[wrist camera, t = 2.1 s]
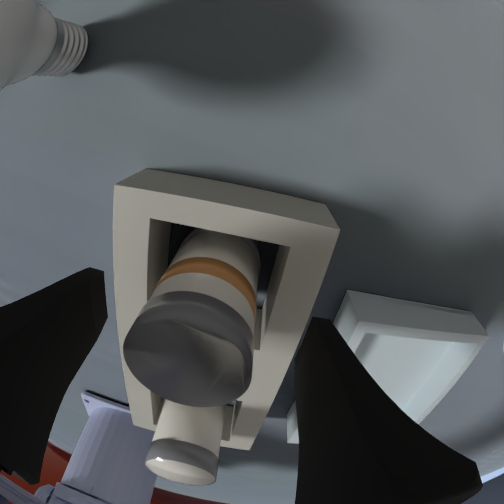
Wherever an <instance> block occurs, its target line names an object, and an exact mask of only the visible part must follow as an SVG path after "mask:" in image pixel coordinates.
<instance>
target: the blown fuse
mask: <svg viewBox="0 0 504 504" xmlns="http://www.w3.org/2000/svg"><path fill="white" fill-rule="evenodd" d="M260 260H261V254H260V249H259V245H258V243H257V241H256V240H255V239H250V238H246V237H241V236H236V235H231V234H226V233H221V232H217V231H212V230H207V229H202V228H197V227H194V228H193V229H192V230H191V231H190V232H189V233H188V235H187V236H186V238H185V239H184V241H183V242H182V244H181V245H180V247H179V249H178V251H177V254H176V256H175V257H174V259H173V260H172V262H171V264H170V265H169V267H168V269H167V270H166V271H165V272H164V274H163V275H162V277H161V278H160V280H159V282H158V283H157V285H156V287H155V288H154V290H153V292H152V294H151V296H150V299H149V300H148V302H147V303H146V304H145V305H144V306H143V308H142V309H141V311H140V313H139V314H138V316H137V318H136V320H135V321H134V323H133V325H132V327H131V328H130V330H129V332H128V334H127V335H126V337H125V340H124V344H123V355H124V359H125V362H126V364H127V366H128V368H129V370H130V371H131V373H132V374H133V375H134V376H135V378H136V379H137V380H138V381H139V382H140V383H141V384H142V385H144V386H145V387H146V388H147V389H149V390H150V391H152V392H153V393H155V394H157V395H159V396H160V397H162V398H165V399H167V400H169V401H172V402H175V403H178V404H182V405H187V406H193V407H215V406H221V405H225V404H228V403H230V402H232V401H234V400H236V399H238V398H239V397H241V396H242V395H243V394H244V393H245V392H246V391H247V389H248V388H249V386H250V383H251V379H252V369H253V356H254V338H253V335H254V329H255V322H256V308H257V301H256V298H257V285H258V278H259V273H260Z"/></svg>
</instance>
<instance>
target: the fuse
mask: <svg viewBox="0 0 504 504" xmlns="http://www.w3.org/2000/svg"><path fill="white" fill-rule="evenodd" d="M225 408H226V404H225V405H221V406H215V407H193V406H187V405H182V404H178V403H175V402H172V401H169V400H167V399H165V402H164V405H163V408H162V411H161V414H160V418H159V421H158V424H157V427H156V430H155V434H154V437H153V440H152V442H151V444H150V447H149V450H148V454H147V457H146V460H145V466H146V467H147V468H148V469H149V470H150V471H151V472H153V473H155V474H156V475H158V476H160V477H163V478H165V479H168V480H171V481H174V482H178V483H182V484H188V485H210V484H213V483H214V482H215V481H216V477H217V470H218V463H219V459H218V456H219V449H220V443H221V436H222V429H223V422H224V415H225Z"/></svg>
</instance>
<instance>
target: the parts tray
mask: <svg viewBox="0 0 504 504" xmlns="http://www.w3.org/2000/svg"><path fill="white" fill-rule="evenodd" d="M333 324H334V326H335V327H336V329H337V330H338V331H339V333H340V334H341V336H342V337H343V339H344V340H345V341H346V343H347V344H348V346H349V347H350V349H351V350H352V351H353V353H354V354H355V356H356V357H357V358H358V360H359V361H360V362H361V364H362V365H363V366H364V368H365V369H366V370H367V372H368V373H369V374H370V375H371V377H372V378H373V379H374V380H375V381H376V383H377V384H378V385H379V386H380V387H381V389H382V390H383V391H384V392H385V393H386V394H387V395H388V396H389V397H390V398H391V399H392V400H393V401H394V402H395V403H396V405H397V406H398V407H399V408H400V409H401V410H402V411H404V412H405V413H406V414H407V415H408V416H409V417H410V418H411V419H412V420H414V421H415V422H416V423H417V424H419V423H420V422H421V421H422V420H423V419H424V418H425V417H426V416H427V415H428V414H429V413H430V412H431V411H432V410H433V408H434V407H435V406H436V405H437V404H438V403H439V402H440V401H441V399H442V398H443V397H444V396H445V395H446V394H447V393H448V391H449V390H450V389H451V388H452V387H453V385H454V384H455V383H456V382H457V380H458V379H459V378H460V377H461V375H462V374H463V373H464V371H465V370H466V369H467V367H468V366H469V365H470V363H471V362H472V361H473V359H474V358H475V357H476V355H477V354H478V352H479V351H480V349H481V348H482V347H483V345H484V344H485V342H486V341H487V339H488V338H489V335H488V333H487V332H486V331H485V329H484V328H483V327H482V325H481V324H480V322H479V321H478V320H477V318H476V317H475V316H474V315H473V313H472V312H471V311H465V310H459V309H453V308H447V307H441V306H435V305H430V304H424V303H418V302H413V301H407V300H401V299H396V298H390V297H385V296H379V295H374V294H368V293H363V292H358V291H352V290H347V292H346V294H345V296H344V299H343V301H342V303H341V306H340V308H339V310H338V313H337V315H336V317H335V319H334V322H333ZM287 443H296V444H299V436H298V424H297V413H296V402H295V401H294V402H293V404H292V406H291V408H290V410H289V412H288V413H287Z"/></svg>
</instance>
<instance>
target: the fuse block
mask: <svg viewBox="0 0 504 504" xmlns="http://www.w3.org/2000/svg"><path fill="white" fill-rule="evenodd" d="M171 223H177V224H182V225H187V226H192V227H197V228H202V229H207V230H212V231H217V232H221V233H226V234H231V235H236V236H241V237H246V238H250V239H255V240H260V241H265V242H270V243H274V244H279V248H278V252H277V256H276V260H275V263H274V267H273V271H272V274H271V278H270V282H269V285H268V289H267V293H266V296H265V300H264V304H263V307H262V309H257V308H256V322H255V329H254V335H253V338H254V356H253V369H252V379H251V383H250V386H249V388H248V389H247V391H246V392H245V393H244V394H243V395H242V396H241V397H239V398H238V399H236V400H235V404H234V406H229V405H226V408H225V415H224V422H223V429H222V436H221V443H220V446H223V447H229V448H235V449H242V450H250V448H251V446H252V444H253V442H254V440H255V438H256V436H257V434H258V432H259V430H260V428H261V426H262V424H263V422H264V420H265V418H266V416H267V413H268V411H269V409H270V407H271V405H272V403H273V401H274V398H275V396H276V394H277V392H278V390H279V387H280V385H281V383H282V381H283V378H284V376H285V374H286V372H287V369H288V367H289V365H290V362H291V360H292V358H293V355H294V353H295V351H296V348H297V346H298V343H299V341H300V338H301V336H302V334H303V331H304V329H305V326H306V324H307V321H308V318H309V316H310V313H311V311H312V308H313V306H314V303H315V300H316V298H317V295H318V292H319V290H320V287H321V284H322V282H323V279H324V276H325V273H326V270H327V268H328V265H329V262H330V259H331V256H332V253H333V250H334V247H335V244H336V242H337V239H338V236H339V232H340V228H339V227H338V225H337V223H336V221H335V220H334V218H333V216H332V215H331V213H330V211H329V209H328V208H327V206H326V204H322V203H318V202H314V201H310V200H306V199H301V198H297V197H293V196H288V195H284V194H280V193H275V192H271V191H266V190H261V189H257V188H252V187H247V186H242V185H237V184H232V183H227V182H222V181H216V180H211V179H206V178H200V177H195V176H189V175H183V174H177V173H171V172H165V171H159V170H152V169H144V170H142V171H140V172H138V173H136V174H134V175H132V176H130V177H128V178H126V179H124V180H122V181H120V182H118V183H117V184H115V185H114V203H113V267H114V288H115V303H116V315H117V326H118V335H119V344H120V352H121V359H122V366H123V373H124V379H125V385H126V391H127V396H128V401H129V407H130V411H131V416H132V421H133V425H135V426H139V427H142V428H145V429H149V430H152V431H155V430H156V427H157V424H158V421H159V418H160V414H161V411H162V408H163V405H164V402H165V398H162V397H160V396H159V395H157V394H155V393H153V392H152V391H150V390H149V389H147V388H146V387H145V386H144V385H142V384H141V383H140V382H139V381H138V380H137V379H136V378H135V376H134V375H133V374H132V373H131V371H130V370H129V368H128V366H127V364H126V362H125V359H124V355H123V344H124V340H125V337H126V335H127V334H128V332H129V330H130V328H131V327H132V325H133V323H134V321H135V320H136V318H137V316H138V314H139V313H140V311H141V309H142V308H143V306H144V305H145V304H146V303H147V302H148V300H149V299H150V296H151V294H152V292H153V290H154V288H155V287H156V285H157V283H158V282H159V280H160V278H161V277H162V275H163V274H164V272H165V271H166V270H167V269H168V256H169V244H170V233H171Z"/></svg>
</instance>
